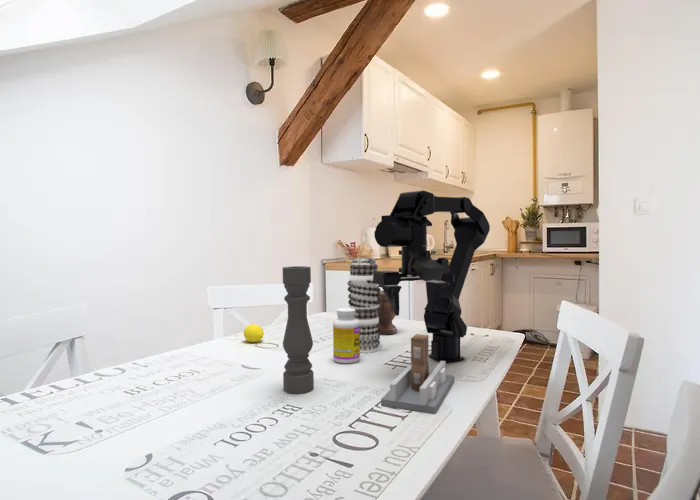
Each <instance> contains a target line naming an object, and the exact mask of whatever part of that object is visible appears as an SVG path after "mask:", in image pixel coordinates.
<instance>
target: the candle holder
mask: <svg viewBox="0 0 700 500" xmlns="http://www.w3.org/2000/svg"><path fill="white" fill-rule="evenodd" d="M311 271H312V270H311V266H305V265H304V266H303V265H302V266H299V265H298V266H296V265H295V266H283V267H282V284H283V285H284V286H283V287H284V289H285V291H286V293H287V294H286V295H285V296H284V298H283V301H285V302H286V304H287V321H286V326H285V331H284V335H283V340H282V347H283V350H284V352H285V353H286V354H287V355H286V357H287V358H288V360H287V361H286V363H285V364H284V371H283V373H282V375H283V377H282V378H283V380H282V381H283V384H282V385H283V391H284V392H285V393H286V394H290V395H302V394H306V393H307V394H308V393H310V392H312V391H314V388H315V384H314V382H315V379H314V374H315V373H314V371H313V370H312V368H313V363H312V362H311V361H310V360H309V358H308V357H309V356H310V354H309V353H310V352H311V350H312V349H313V345H314V341H313V337H312V333H311V329H310V324H309V322H308V310H307V307H308V306H307V304H308V301H309V300H310V299H311V296H310V295H309V294H308V293H307V292H308V290H309V288H310V284H311V283H312V279H311V277H312V276H311V274H312V273H311Z"/></svg>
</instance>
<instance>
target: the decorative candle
mask: <svg viewBox="0 0 700 500" xmlns="http://www.w3.org/2000/svg"><path fill="white" fill-rule="evenodd" d="M378 264H379V263H378V262H377V261H376V260H375V258H373V257H355V258H353V259H352V261H351V262H350V263H349V266H350V267H349V273H350V274H349V281H347V286H348V287H347V291H348V293H349V294H348V295H347V297H348V299H349V300H348V308H353V309H355V310H356V314H355V319H357V320H358V321H359V325H360V354H361V353H362V354H368V353H375V352H378V351H380V349H381V346H380V345H381V341H380V339H381V335H380V334H378V333H379V332H380V329H379V328H378V327H379V326H380V324H379V323H378V322H379V317H378V307H379V306H380V305H379V304H380V302H379V301H377V297H379V296H380V294H379V293H378V294H377V291H378V292H379V291H380V290H381V287H379V288H378V287H377V285H378V284H375V283H373V275H374V273H375V272H376V271H379V270H378Z"/></svg>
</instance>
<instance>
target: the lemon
mask: <svg viewBox="0 0 700 500" xmlns="http://www.w3.org/2000/svg"><path fill="white" fill-rule="evenodd" d="M264 334H265V333H264V329H263V328H262V327H261V326H260V325H259V324H254V323H252V324H249V325H247V326H246V327H245V328H244V330H243V337H244V339H245V340H246V341H247V342H249V343H253V344H254V342H256V343H258V342H261V340H262V339H263V338H264Z"/></svg>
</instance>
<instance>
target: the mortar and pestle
mask: <svg viewBox="0 0 700 500" xmlns="http://www.w3.org/2000/svg"><path fill="white" fill-rule="evenodd" d="M377 287H378V284H377ZM378 288H380V287H378ZM378 293H379V294H380V296H379V297H377V301H379V302H380V304H379V305H380V306H379V307H378V317H379V322H378V323H379V324H380V326H379V327H378V328H379V329H380V332H379V333H378V334H379V335H380V336H381V335H383V336H384V335H386V336H387V335H393V334H397V333H398V330H397V326H396V325H394V324H393V320H394V319H395V317H396V315H395V313H394V311H393V309H392V306H391V304H390V302H389V300H388V297H387V296H386V294H385V292H384V290H383V289H382V290H381V289H380V291H379V292H378V291H377V294H378Z"/></svg>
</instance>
